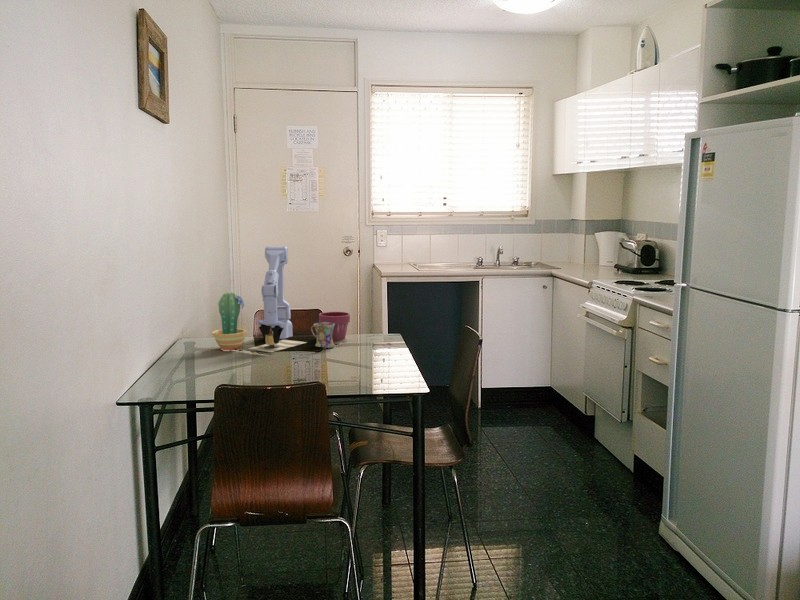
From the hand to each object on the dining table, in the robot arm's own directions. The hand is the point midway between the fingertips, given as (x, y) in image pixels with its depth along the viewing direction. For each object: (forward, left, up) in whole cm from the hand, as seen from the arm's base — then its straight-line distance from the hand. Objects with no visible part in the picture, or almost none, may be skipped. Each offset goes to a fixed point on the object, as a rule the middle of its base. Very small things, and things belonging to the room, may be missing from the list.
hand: (271, 342), depth 296 cm
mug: (-15, +16, -3) cm, 22 cm away
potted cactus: (+8, -17, -3) cm, 19 cm away
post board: (-4, 0, -3) cm, 5 cm away
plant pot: (-30, +12, -3) cm, 32 cm away
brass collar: (0, 0, -1) cm, 1 cm away
